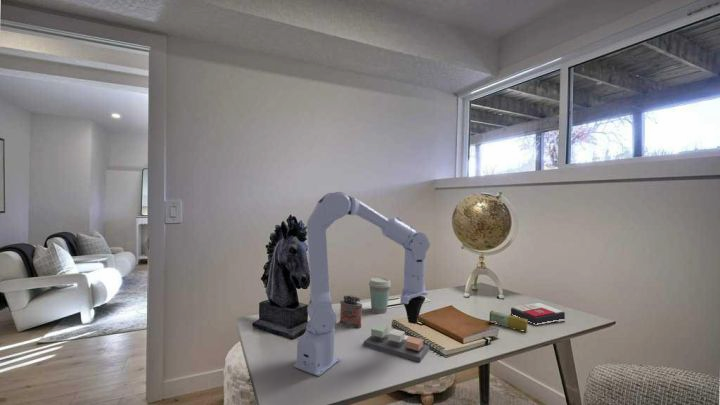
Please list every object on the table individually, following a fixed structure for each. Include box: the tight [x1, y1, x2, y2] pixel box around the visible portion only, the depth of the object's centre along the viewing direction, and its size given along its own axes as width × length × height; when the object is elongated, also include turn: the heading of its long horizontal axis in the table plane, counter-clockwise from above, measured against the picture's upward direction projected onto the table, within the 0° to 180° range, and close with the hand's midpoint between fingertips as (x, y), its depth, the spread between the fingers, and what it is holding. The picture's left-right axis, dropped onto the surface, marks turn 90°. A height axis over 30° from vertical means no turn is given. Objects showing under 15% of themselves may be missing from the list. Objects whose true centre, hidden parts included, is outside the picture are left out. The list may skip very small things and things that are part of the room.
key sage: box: [370, 324, 389, 338], centre depth 91 cm, size 4×4×2 cm
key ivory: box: [387, 328, 406, 343], centre depth 88 cm, size 4×4×2 cm
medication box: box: [489, 310, 529, 332], centre depth 107 cm, size 12×3×4 cm, turn 52°
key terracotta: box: [406, 336, 424, 351], centre depth 86 cm, size 4×4×2 cm
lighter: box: [339, 294, 363, 329], centre depth 104 cm, size 8×3×10 cm, turn 62°
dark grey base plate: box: [363, 333, 430, 363], centre depth 88 cm, size 8×17×1 cm, turn 60°
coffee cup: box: [368, 277, 392, 314], centre depth 118 cm, size 8×8×12 cm
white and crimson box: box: [510, 302, 566, 324], centre depth 116 cm, size 11×4×15 cm
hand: (412, 322), depth 86 cm, fingers closed
